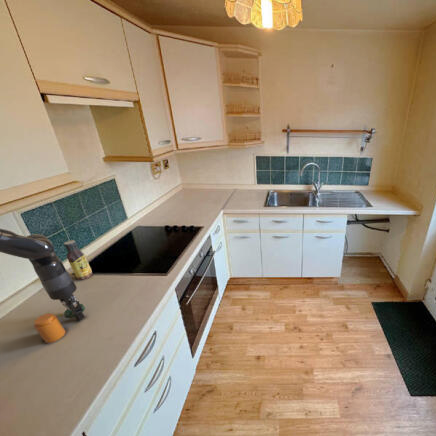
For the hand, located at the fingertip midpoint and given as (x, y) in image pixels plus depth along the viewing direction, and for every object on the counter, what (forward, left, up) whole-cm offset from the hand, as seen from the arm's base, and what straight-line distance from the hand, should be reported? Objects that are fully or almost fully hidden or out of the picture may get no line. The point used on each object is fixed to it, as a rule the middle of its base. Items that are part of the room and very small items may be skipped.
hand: (77, 315), depth 92 cm
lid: (0, 0, +3) cm, 3 cm away
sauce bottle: (+11, +28, -1) cm, 30 cm away
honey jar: (-8, -4, -1) cm, 9 cm away
